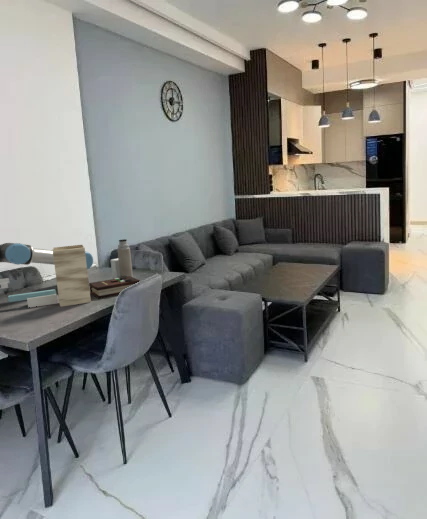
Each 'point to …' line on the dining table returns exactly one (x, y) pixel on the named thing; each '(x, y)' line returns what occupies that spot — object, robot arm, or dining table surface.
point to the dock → (42, 300)
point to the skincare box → (115, 268)
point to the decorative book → (111, 286)
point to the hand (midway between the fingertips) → (8, 282)
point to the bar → (30, 295)
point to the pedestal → (71, 275)
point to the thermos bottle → (124, 258)
